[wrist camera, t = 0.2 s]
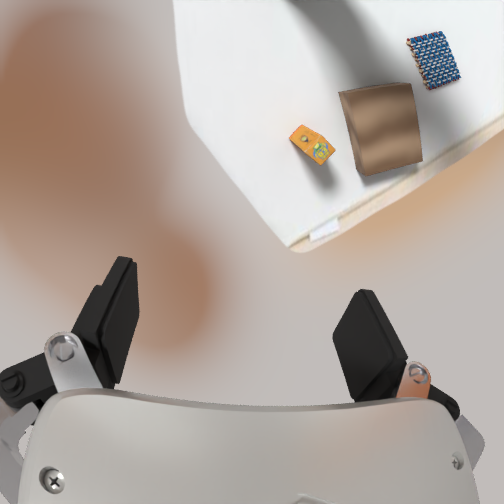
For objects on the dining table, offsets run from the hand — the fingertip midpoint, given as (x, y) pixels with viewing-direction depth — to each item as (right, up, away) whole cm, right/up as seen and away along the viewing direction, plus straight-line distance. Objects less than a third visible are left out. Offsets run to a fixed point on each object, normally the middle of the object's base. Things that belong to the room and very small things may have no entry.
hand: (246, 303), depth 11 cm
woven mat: (+33, +38, +22) cm, 55 cm away
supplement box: (+8, +21, +31) cm, 38 cm away
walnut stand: (+22, +24, +29) cm, 44 cm away
